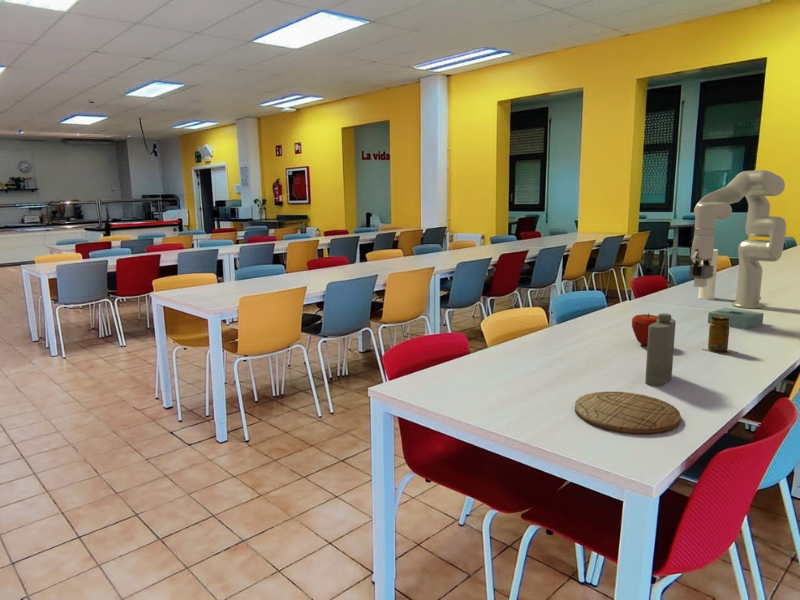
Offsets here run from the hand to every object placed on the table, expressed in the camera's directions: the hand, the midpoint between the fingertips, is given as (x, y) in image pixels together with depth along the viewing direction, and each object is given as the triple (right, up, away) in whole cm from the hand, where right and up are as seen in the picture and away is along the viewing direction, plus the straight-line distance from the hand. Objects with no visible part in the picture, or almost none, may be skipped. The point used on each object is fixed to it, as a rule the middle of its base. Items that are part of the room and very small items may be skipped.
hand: (701, 274), depth 241 cm
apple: (-39, -28, -36) cm, 59 cm away
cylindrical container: (+28, -10, +47) cm, 56 cm away
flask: (-51, -35, -72) cm, 95 cm away
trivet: (-72, -41, -98) cm, 128 cm away
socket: (+11, -21, -6) cm, 24 cm away
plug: (0, -5, +1) cm, 5 cm away
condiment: (-17, -29, -45) cm, 56 cm away
